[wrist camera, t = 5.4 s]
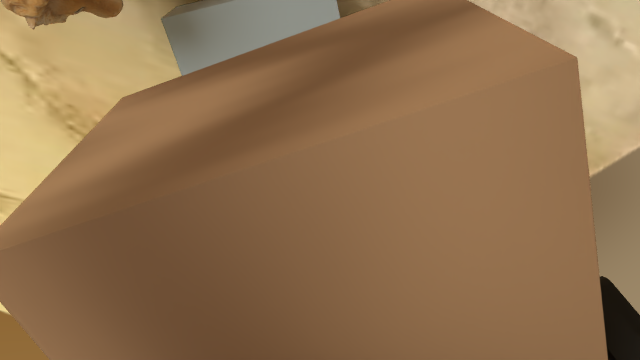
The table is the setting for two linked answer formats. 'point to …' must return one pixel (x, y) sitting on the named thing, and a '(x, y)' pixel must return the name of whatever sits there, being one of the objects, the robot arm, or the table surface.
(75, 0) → the lion figurine
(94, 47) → the table surface
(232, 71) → the walnut brick
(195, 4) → the base slab
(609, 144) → the table surface
